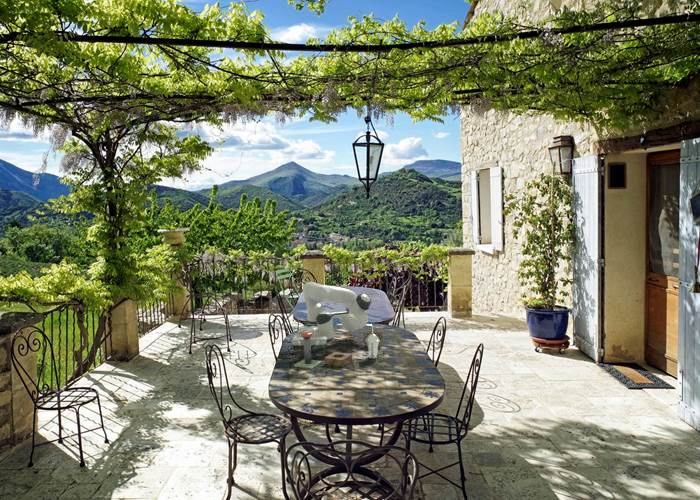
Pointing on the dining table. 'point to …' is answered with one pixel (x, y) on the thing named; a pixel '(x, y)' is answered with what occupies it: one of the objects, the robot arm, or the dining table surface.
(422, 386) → the dining table surface
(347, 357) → the collar
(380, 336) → the pine cone
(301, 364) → the mat
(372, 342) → the cup with straw
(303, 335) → the peg
